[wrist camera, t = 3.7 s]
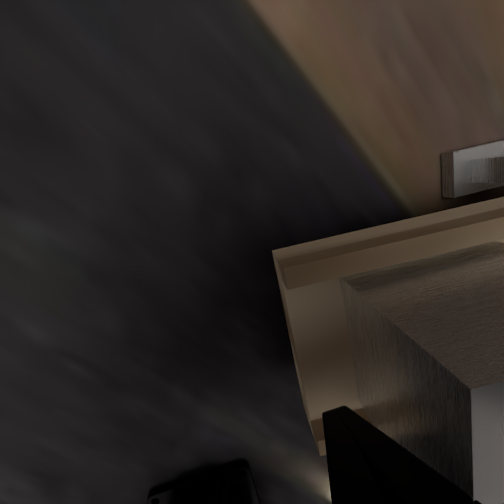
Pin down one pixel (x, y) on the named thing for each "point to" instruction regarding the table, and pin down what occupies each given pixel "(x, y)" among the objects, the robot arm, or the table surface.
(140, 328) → the table surface
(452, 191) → the pivot stand
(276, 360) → the table surface
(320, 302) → the oak beam
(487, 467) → the metal block
